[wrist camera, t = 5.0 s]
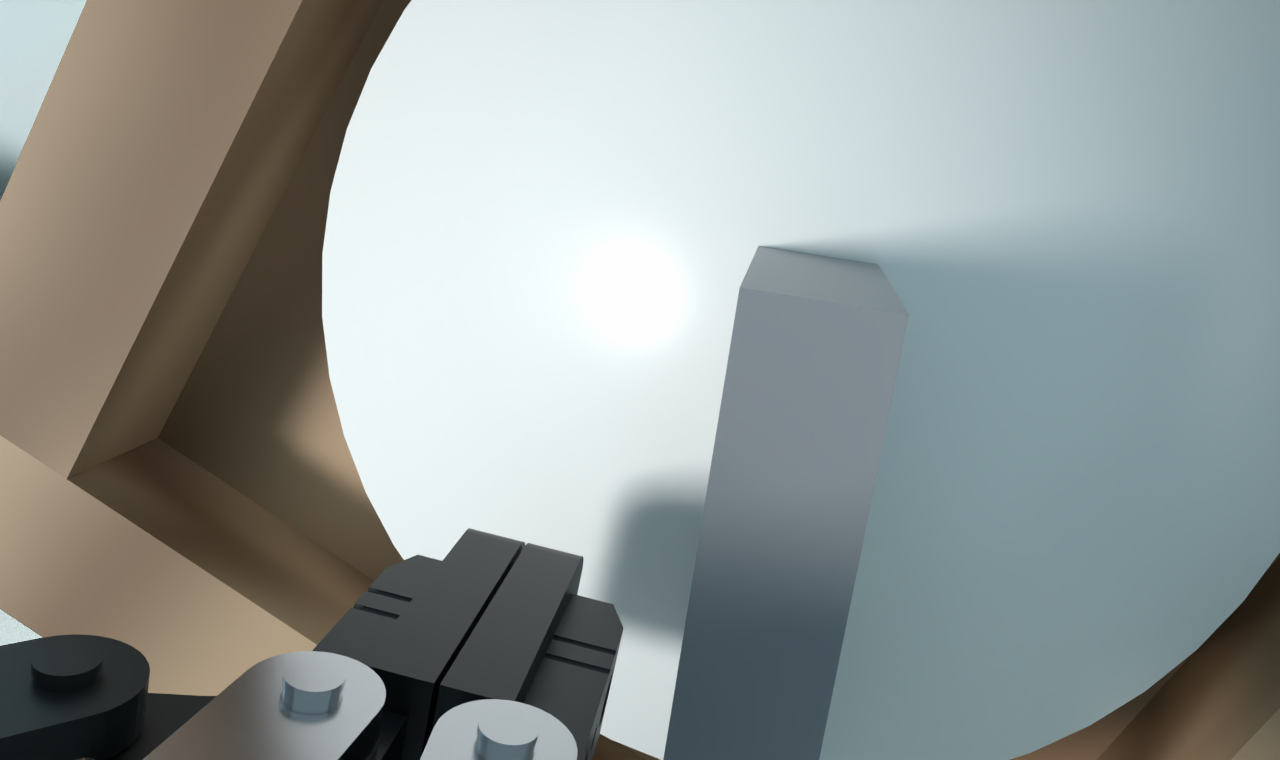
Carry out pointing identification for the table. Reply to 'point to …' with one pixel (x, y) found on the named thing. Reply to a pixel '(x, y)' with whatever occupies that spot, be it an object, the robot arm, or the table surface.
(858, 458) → the dial
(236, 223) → the wooden frame
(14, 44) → the table surface
